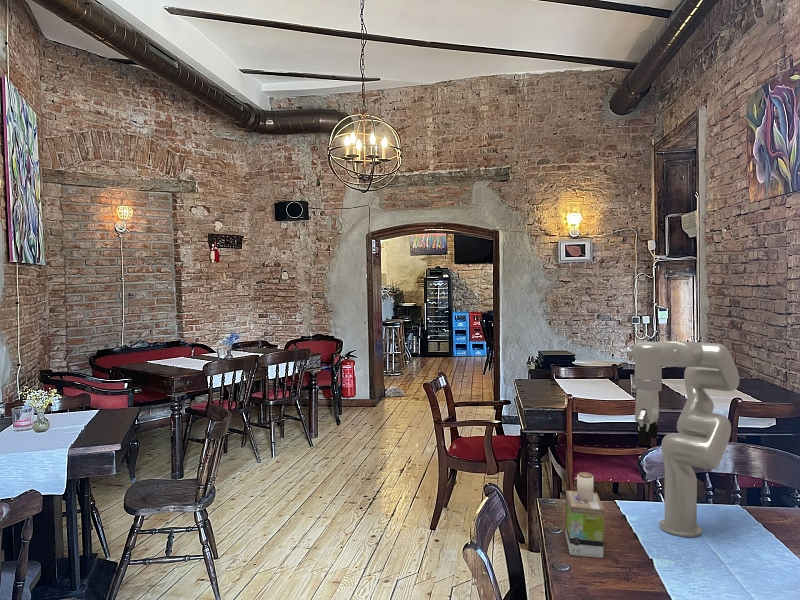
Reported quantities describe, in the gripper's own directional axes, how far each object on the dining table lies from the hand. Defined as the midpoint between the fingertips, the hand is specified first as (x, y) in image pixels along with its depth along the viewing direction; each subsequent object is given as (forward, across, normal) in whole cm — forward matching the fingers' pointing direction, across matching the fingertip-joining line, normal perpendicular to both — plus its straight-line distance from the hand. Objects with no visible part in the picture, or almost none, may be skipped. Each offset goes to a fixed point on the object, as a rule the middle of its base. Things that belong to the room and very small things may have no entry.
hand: (647, 440), depth 170 cm
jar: (+19, +9, -16) cm, 26 cm away
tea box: (+34, +9, -16) cm, 39 cm away
